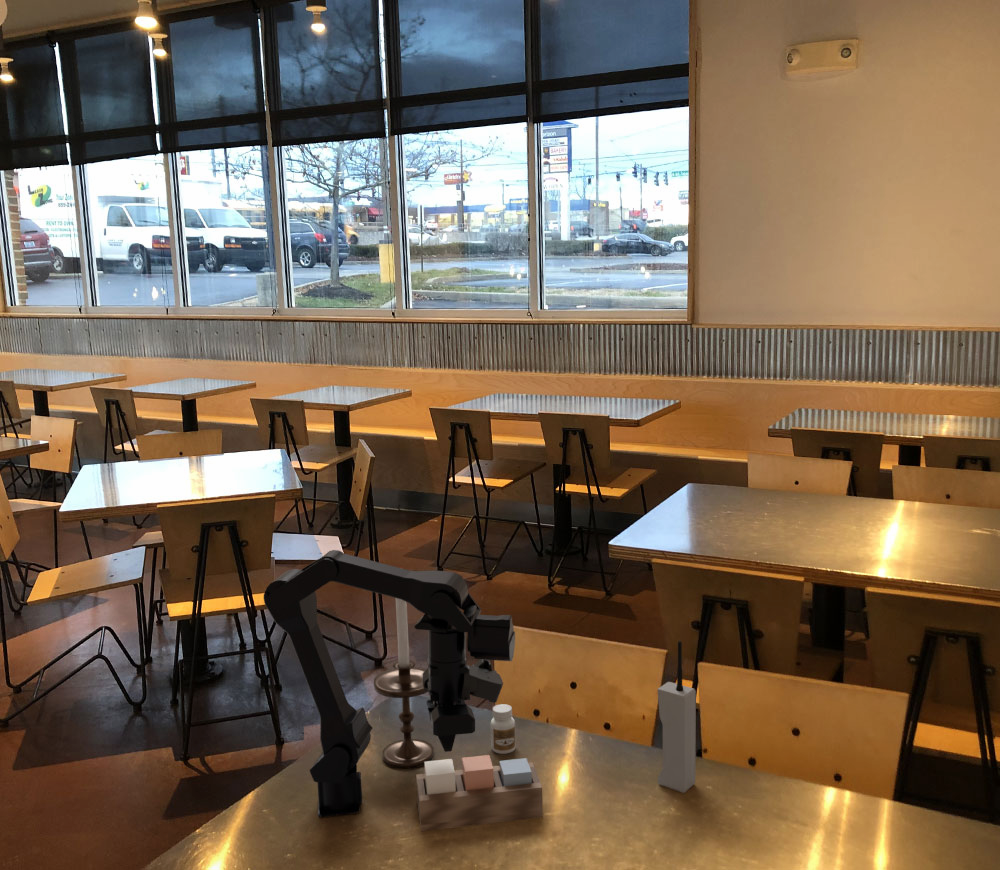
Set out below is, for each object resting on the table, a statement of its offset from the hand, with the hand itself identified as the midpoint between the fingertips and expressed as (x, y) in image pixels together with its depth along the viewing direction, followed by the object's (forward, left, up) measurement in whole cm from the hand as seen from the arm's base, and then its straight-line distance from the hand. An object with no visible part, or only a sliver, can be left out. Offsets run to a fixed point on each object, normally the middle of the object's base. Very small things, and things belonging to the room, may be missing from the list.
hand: (447, 750), depth 147 cm
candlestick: (-5, +20, -11) cm, 23 cm away
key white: (-1, 0, -7) cm, 7 cm away
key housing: (+5, 0, -11) cm, 11 cm away
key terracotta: (+5, 0, -7) cm, 8 cm away
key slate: (+11, 0, -8) cm, 13 cm away
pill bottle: (+12, +19, -11) cm, 25 cm away
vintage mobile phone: (+38, +1, -11) cm, 39 cm away
